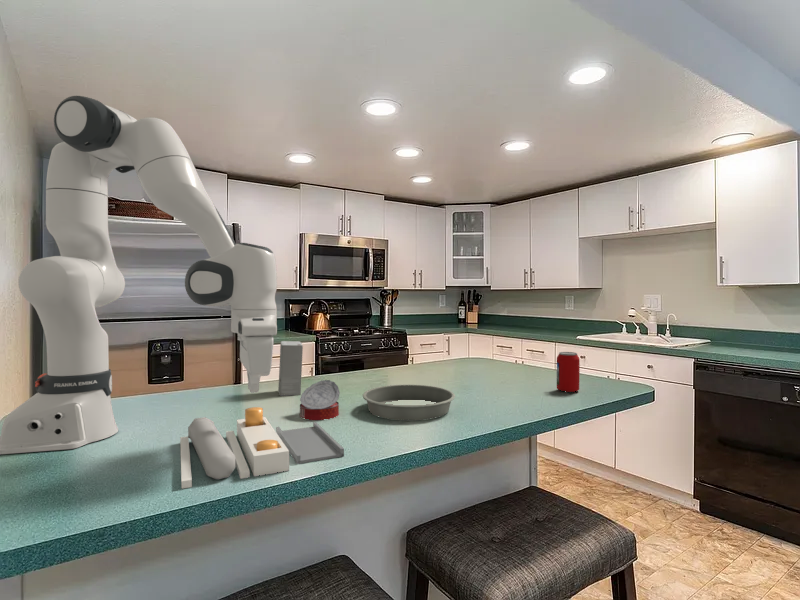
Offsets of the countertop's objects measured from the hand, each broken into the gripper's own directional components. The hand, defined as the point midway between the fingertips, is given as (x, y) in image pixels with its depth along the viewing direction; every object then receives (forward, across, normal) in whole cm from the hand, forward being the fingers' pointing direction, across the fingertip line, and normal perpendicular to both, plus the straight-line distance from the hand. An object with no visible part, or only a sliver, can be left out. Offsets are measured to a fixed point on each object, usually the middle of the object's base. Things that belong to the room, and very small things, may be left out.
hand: (253, 391), depth 95 cm
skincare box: (+12, -47, +17) cm, 51 cm away
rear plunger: (+8, -4, +1) cm, 10 cm away
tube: (+12, +4, -8) cm, 15 cm away
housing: (+11, +4, -5) cm, 13 cm away
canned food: (+12, -18, +18) cm, 28 cm away
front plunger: (+11, +12, +1) cm, 16 cm away
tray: (+11, +3, +10) cm, 16 cm away
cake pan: (+11, -13, +42) cm, 45 cm away
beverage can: (+10, -12, +97) cm, 98 cm away
